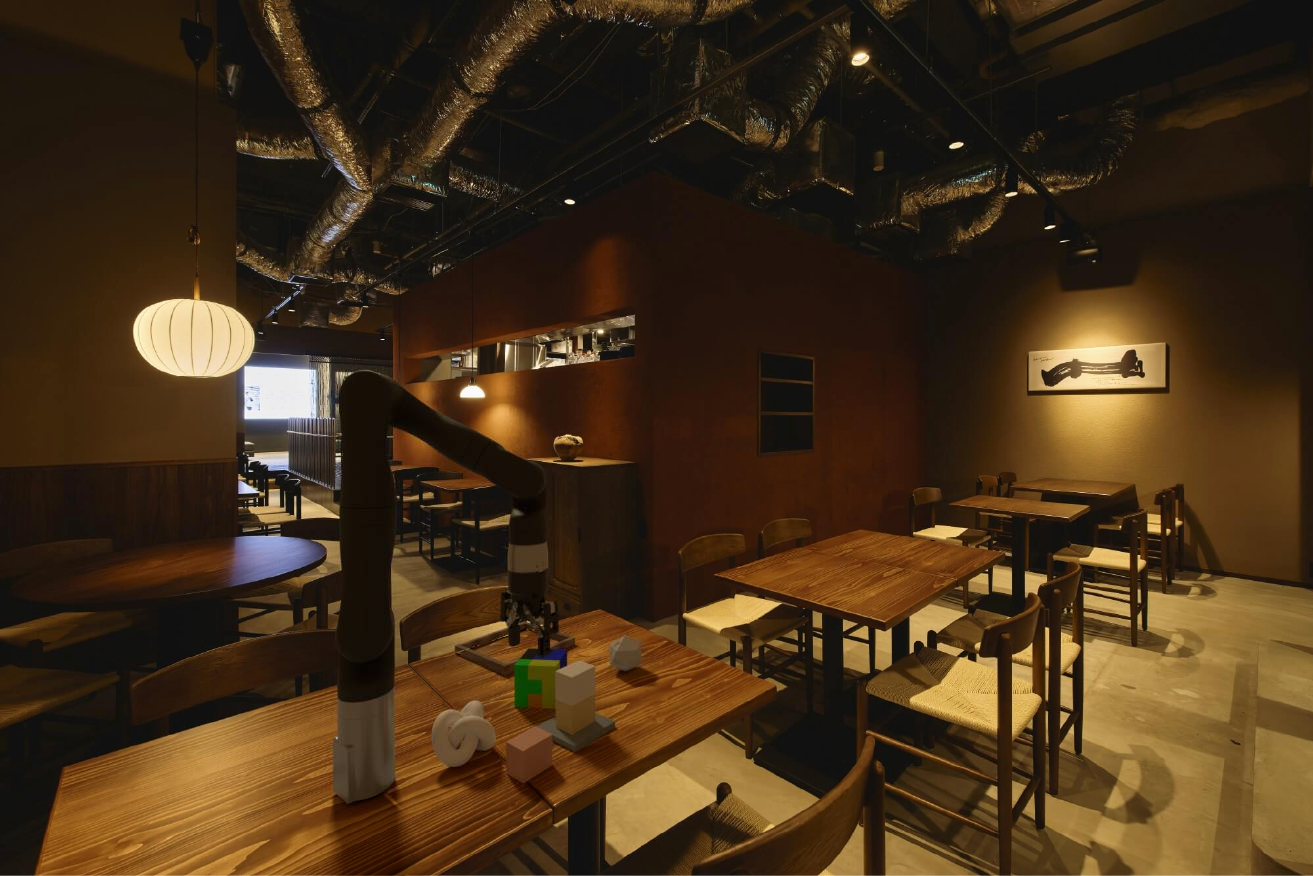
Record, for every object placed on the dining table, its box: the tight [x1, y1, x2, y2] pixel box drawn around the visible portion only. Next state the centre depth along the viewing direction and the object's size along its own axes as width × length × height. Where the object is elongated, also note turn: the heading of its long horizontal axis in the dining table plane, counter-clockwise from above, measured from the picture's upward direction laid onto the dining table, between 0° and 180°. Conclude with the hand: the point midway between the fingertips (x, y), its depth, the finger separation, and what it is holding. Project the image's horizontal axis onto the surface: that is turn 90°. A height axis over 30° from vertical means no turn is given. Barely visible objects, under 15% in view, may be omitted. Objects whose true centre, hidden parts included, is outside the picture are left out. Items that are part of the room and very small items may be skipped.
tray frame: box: [454, 621, 576, 676], centre depth 159 cm, size 25×23×3 cm
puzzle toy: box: [513, 647, 568, 710], centre depth 131 cm, size 10×10×10 cm
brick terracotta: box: [505, 725, 553, 784], centre depth 103 cm, size 7×5×6 cm
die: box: [609, 634, 643, 672], centre depth 145 cm, size 8×9×10 cm
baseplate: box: [536, 712, 616, 753], centre depth 117 cm, size 12×12×1 cm
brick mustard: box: [555, 693, 596, 735], centre depth 117 cm, size 7×5×6 cm
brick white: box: [555, 660, 596, 706], centre depth 117 cm, size 7×5×6 cm
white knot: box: [431, 700, 497, 768], centre depth 108 cm, size 11×12×9 cm
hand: (528, 650), depth 103 cm, fingers open, 8 cm apart
